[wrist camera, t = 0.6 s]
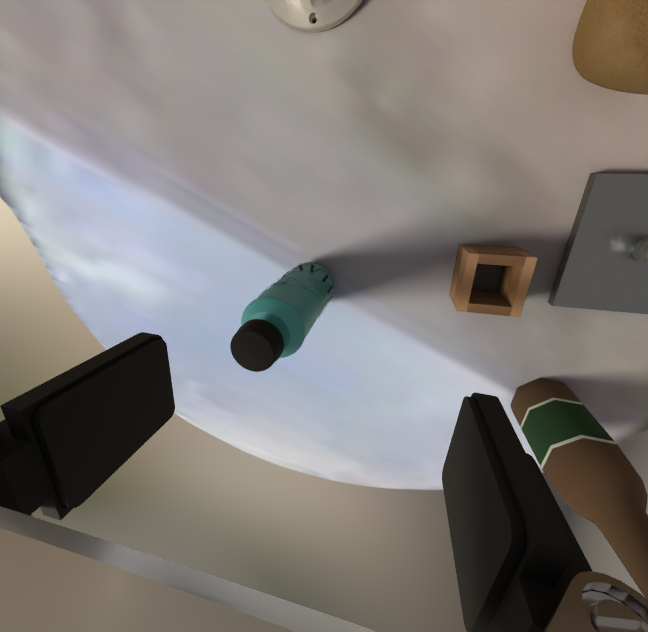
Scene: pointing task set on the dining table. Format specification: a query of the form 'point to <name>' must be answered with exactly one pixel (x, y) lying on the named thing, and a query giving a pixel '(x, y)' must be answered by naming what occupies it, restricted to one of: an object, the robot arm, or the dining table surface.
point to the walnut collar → (510, 285)
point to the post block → (607, 247)
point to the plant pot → (613, 44)
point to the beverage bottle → (281, 317)
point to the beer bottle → (587, 469)
